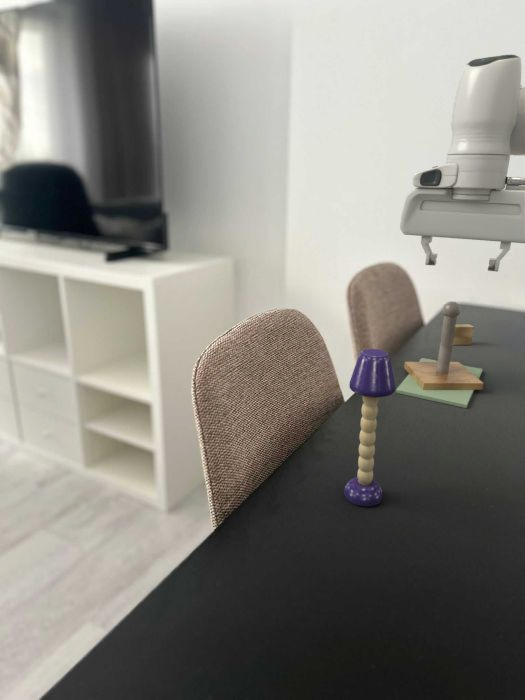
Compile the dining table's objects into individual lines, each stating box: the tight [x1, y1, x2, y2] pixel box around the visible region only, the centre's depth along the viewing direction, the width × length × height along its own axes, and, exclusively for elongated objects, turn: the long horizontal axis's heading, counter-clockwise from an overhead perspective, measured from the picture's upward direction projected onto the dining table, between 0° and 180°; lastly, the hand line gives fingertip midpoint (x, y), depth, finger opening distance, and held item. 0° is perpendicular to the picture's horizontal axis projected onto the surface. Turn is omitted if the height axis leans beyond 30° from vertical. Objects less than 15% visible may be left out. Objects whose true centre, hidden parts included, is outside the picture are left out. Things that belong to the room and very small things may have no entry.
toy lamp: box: [343, 348, 396, 508], centre depth 54 cm, size 5×5×17 cm
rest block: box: [453, 323, 475, 346], centre depth 109 cm, size 5×2×4 cm, turn 94°
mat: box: [395, 357, 484, 409], centre depth 89 cm, size 18×11×1 cm, turn 151°
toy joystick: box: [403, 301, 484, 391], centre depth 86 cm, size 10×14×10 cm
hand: (461, 267), depth 82 cm, fingers open, 8 cm apart
